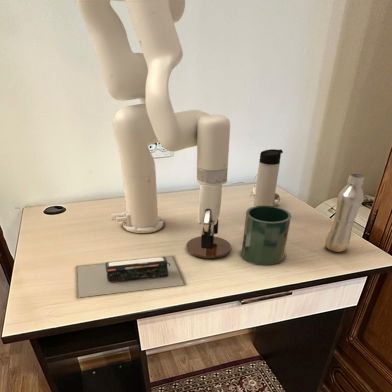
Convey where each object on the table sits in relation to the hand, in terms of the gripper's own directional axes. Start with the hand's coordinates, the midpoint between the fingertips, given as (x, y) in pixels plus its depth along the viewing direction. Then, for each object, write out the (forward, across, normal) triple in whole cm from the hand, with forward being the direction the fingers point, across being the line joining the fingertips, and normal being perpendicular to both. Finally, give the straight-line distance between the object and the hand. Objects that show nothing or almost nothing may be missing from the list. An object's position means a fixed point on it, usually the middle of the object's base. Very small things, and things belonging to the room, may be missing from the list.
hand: (209, 240), depth 101 cm
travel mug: (+3, -28, +14) cm, 31 cm away
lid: (+2, 0, 0) cm, 2 cm away
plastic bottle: (+3, -8, +36) cm, 37 cm away
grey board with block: (+3, +18, -18) cm, 26 cm away
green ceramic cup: (+3, 0, +15) cm, 15 cm away
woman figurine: (+3, -43, +14) cm, 46 cm away
